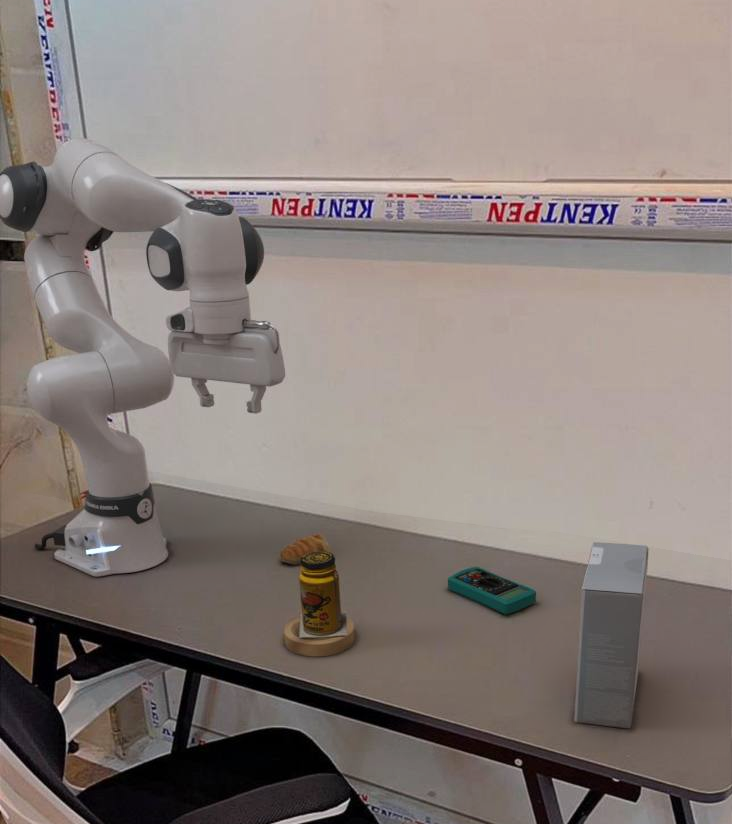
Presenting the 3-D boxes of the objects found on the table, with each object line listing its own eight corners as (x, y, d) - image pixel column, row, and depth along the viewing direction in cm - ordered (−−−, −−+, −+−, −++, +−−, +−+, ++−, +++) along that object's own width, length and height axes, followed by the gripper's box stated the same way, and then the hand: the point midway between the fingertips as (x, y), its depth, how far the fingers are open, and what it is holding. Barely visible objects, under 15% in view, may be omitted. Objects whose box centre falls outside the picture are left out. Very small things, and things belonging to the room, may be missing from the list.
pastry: (293, 570, 177) (291, 551, 176) (272, 560, 182) (271, 541, 180) (334, 556, 182) (333, 537, 181) (313, 547, 187) (311, 528, 186)
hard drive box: (584, 667, 142) (593, 540, 133) (638, 673, 140) (651, 544, 131) (572, 723, 128) (581, 586, 120) (632, 730, 126) (645, 592, 117)
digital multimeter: (474, 577, 171) (475, 562, 170) (537, 604, 161) (538, 588, 160) (444, 590, 167) (444, 574, 166) (506, 618, 157) (507, 601, 156)
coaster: (270, 646, 151) (269, 634, 150) (311, 618, 159) (310, 606, 158) (329, 663, 146) (328, 650, 145) (368, 633, 154) (367, 620, 153)
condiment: (299, 638, 148) (293, 566, 143) (301, 614, 156) (295, 545, 151) (346, 636, 148) (343, 564, 143) (346, 612, 156) (342, 543, 151)
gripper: (289, 318, 143) (296, 411, 149) (184, 311, 153) (195, 398, 159) (263, 325, 138) (271, 421, 144) (157, 317, 148) (168, 407, 154)
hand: (230, 409), depth 152 cm, fingers open, 8 cm apart
